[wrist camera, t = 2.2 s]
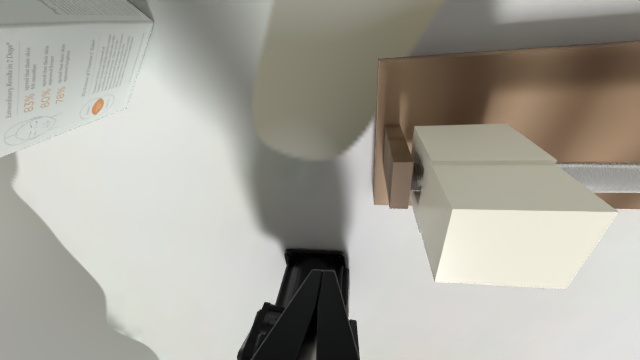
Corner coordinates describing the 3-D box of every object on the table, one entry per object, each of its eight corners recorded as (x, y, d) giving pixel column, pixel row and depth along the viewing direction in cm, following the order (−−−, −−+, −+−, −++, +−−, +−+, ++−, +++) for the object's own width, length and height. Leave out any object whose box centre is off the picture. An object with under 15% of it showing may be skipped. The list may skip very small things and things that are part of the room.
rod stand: (373, 194, 23) (378, 265, 16) (378, 59, 17) (390, 85, 10) (669, 197, 19) (825, 288, 13) (801, 29, 14) (1206, 41, 7)
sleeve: (407, 187, 18) (433, 284, 11) (414, 126, 15) (453, 204, 9) (486, 188, 17) (563, 292, 10) (506, 123, 14) (621, 207, 8)
